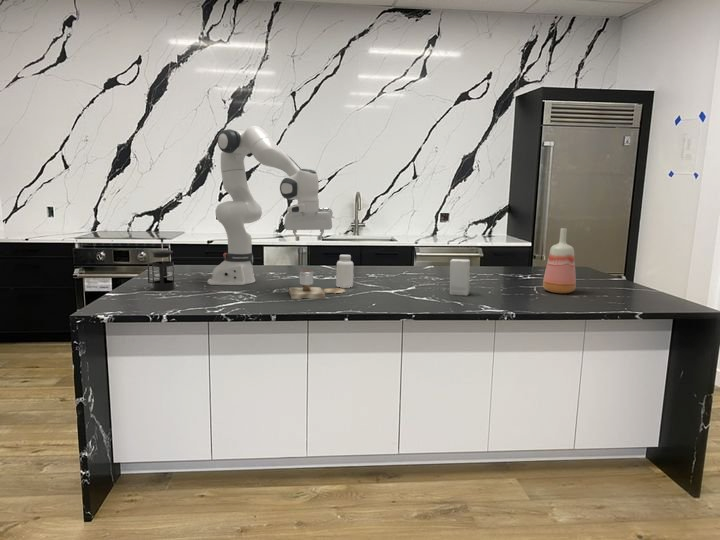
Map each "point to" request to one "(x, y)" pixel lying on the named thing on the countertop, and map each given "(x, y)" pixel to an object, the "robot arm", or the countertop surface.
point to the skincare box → (459, 276)
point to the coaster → (333, 290)
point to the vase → (560, 267)
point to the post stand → (306, 292)
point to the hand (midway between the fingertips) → (308, 240)
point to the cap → (306, 277)
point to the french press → (162, 270)
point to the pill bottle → (344, 272)
